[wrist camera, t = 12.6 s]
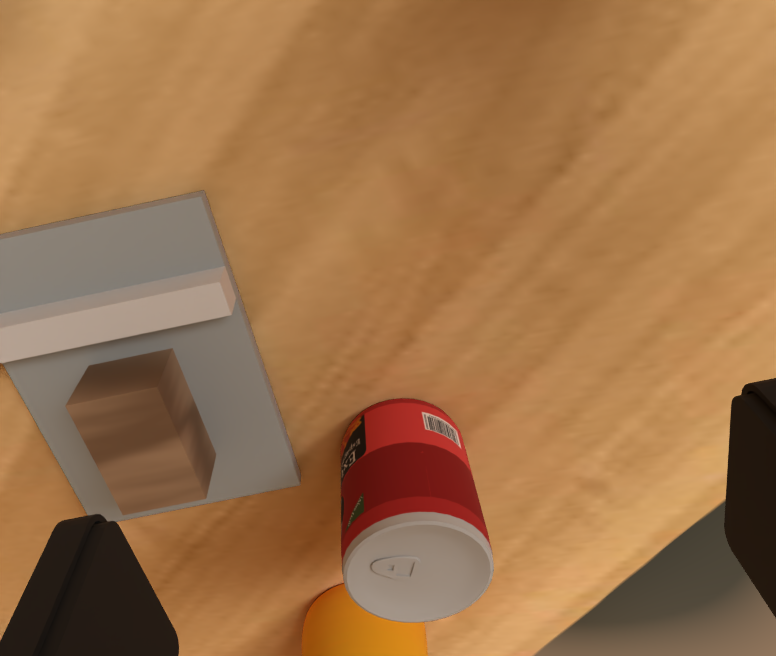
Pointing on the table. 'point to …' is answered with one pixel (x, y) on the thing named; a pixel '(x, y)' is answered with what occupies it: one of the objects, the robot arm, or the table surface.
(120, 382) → the walnut block
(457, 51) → the table surface
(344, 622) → the beer bottle
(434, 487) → the canned food
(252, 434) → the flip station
